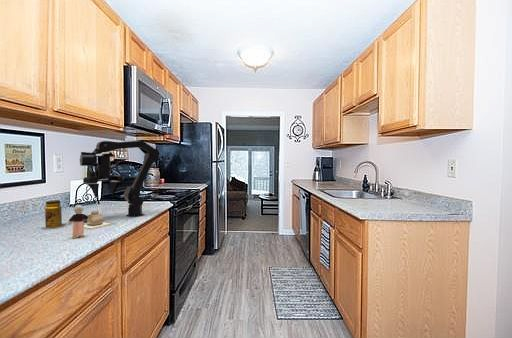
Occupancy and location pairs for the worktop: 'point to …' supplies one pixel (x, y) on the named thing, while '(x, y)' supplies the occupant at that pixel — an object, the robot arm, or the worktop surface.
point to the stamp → (95, 218)
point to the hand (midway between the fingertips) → (104, 196)
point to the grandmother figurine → (78, 222)
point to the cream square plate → (98, 225)
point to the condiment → (53, 215)
